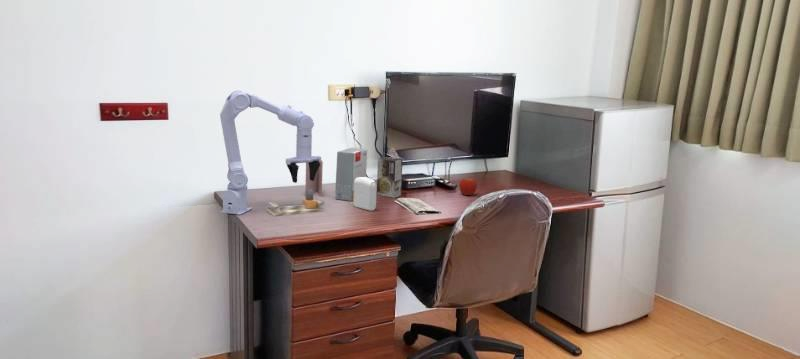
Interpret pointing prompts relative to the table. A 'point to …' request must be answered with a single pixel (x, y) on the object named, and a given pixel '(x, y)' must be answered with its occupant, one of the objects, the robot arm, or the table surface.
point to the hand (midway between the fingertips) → (303, 181)
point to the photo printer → (364, 193)
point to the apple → (468, 186)
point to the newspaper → (415, 205)
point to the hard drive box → (349, 171)
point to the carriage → (309, 199)
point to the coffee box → (389, 177)
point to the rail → (293, 209)
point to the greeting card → (317, 182)
